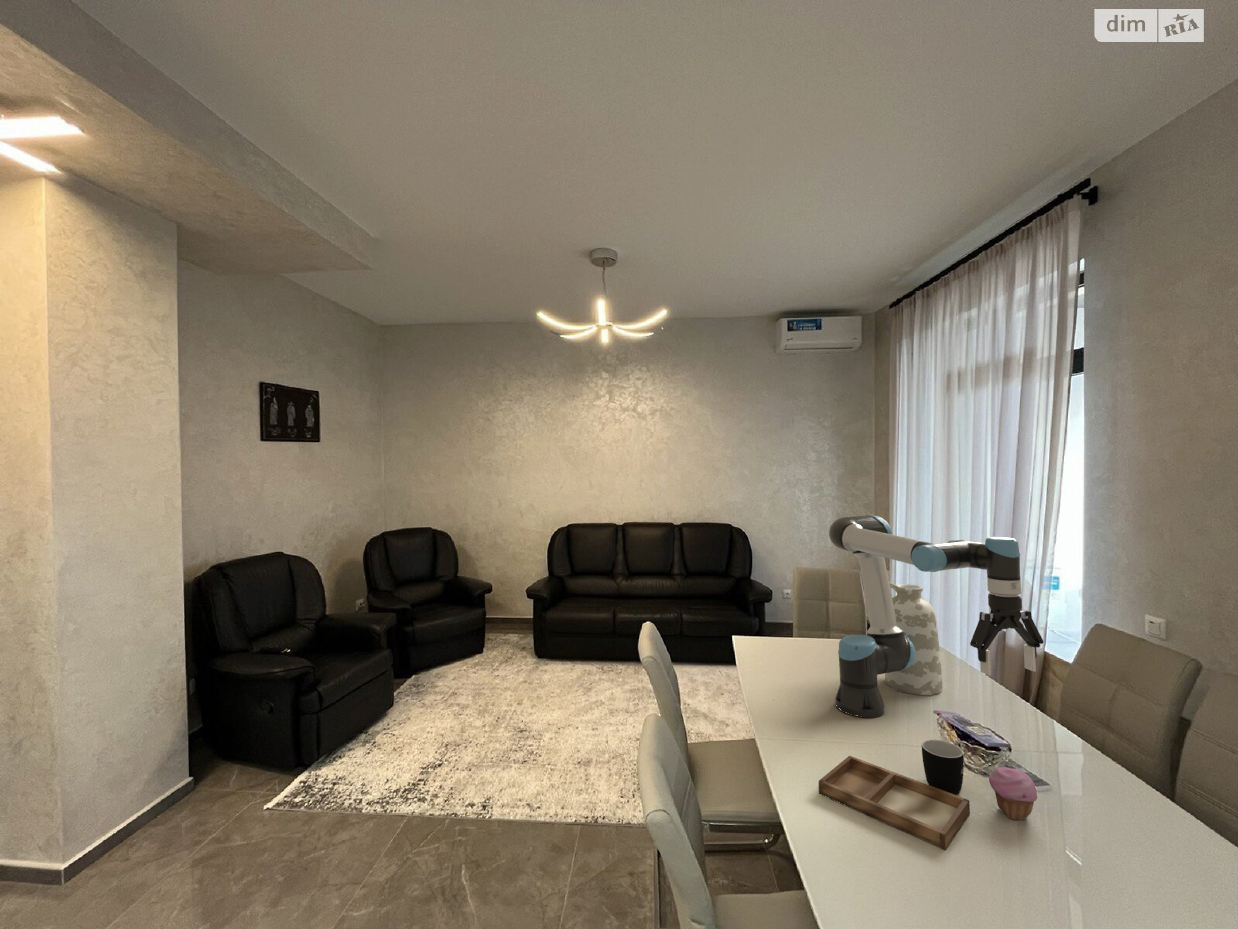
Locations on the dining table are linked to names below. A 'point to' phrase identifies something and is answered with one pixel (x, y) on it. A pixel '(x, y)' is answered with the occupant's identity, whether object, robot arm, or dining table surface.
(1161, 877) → the dining table surface
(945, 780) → the mug
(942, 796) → the organizer box
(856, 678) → the robot arm
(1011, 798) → the cupcake
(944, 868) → the dining table surface
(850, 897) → the dining table surface
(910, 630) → the vase
